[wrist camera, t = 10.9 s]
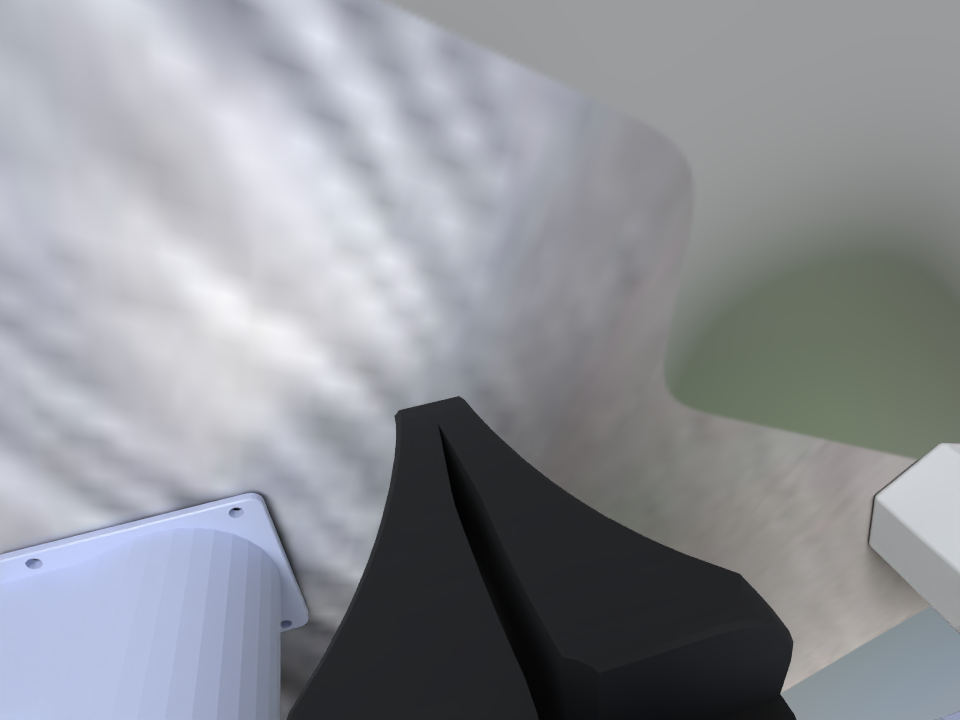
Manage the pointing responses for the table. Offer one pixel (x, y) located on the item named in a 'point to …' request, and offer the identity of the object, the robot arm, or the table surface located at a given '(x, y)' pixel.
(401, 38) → the table surface
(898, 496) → the jar
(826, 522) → the table surface
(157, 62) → the table surface
